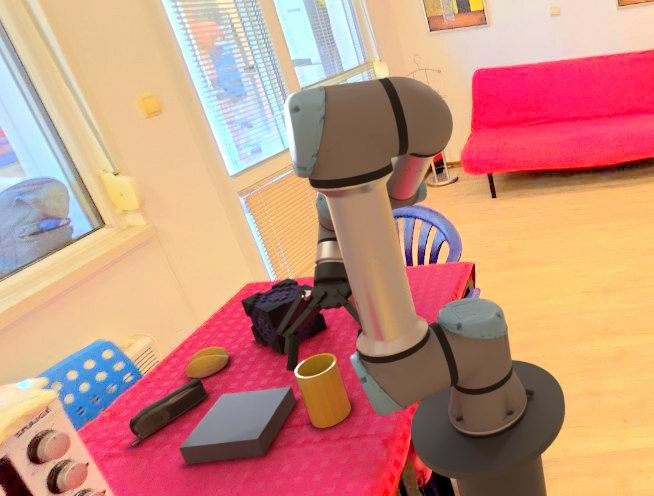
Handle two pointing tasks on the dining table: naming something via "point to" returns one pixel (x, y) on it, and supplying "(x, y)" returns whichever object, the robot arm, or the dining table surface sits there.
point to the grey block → (239, 425)
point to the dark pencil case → (166, 409)
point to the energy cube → (278, 314)
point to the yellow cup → (323, 390)
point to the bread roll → (207, 362)
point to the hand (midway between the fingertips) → (326, 366)
